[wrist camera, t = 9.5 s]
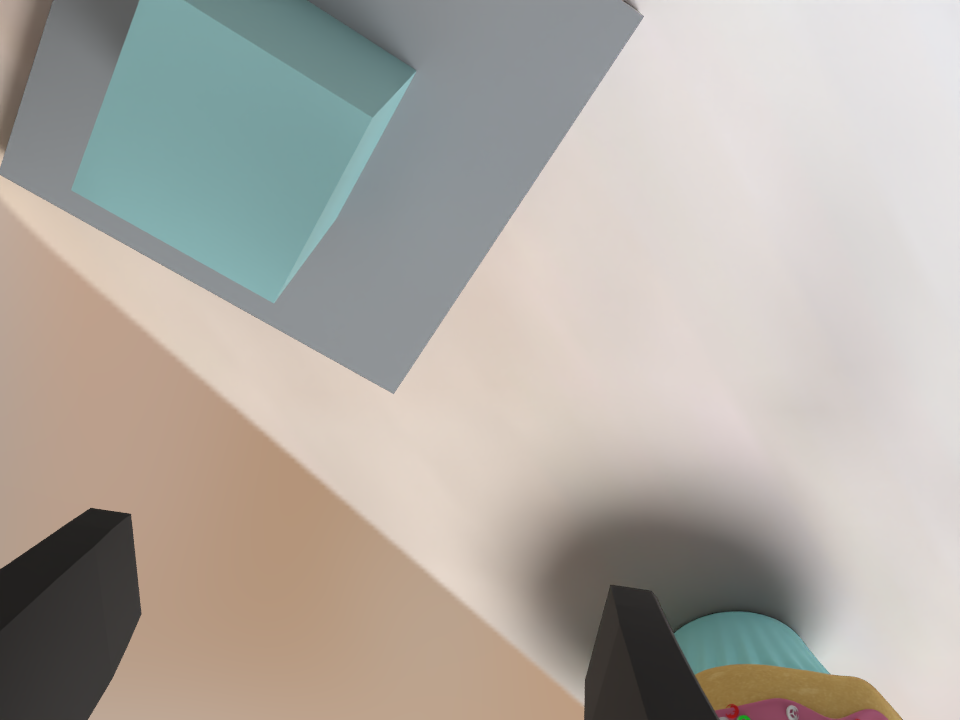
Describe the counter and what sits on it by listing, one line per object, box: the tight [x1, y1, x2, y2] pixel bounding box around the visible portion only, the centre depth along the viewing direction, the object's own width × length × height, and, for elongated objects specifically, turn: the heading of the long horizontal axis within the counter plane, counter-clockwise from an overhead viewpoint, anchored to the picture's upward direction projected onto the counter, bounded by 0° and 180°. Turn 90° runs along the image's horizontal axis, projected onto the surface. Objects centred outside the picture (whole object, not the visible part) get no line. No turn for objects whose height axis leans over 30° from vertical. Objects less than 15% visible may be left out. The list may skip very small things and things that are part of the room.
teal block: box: [71, 0, 416, 303], centre depth 16 cm, size 4×4×5 cm
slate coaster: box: [0, 0, 644, 394], centre depth 19 cm, size 11×11×1 cm
